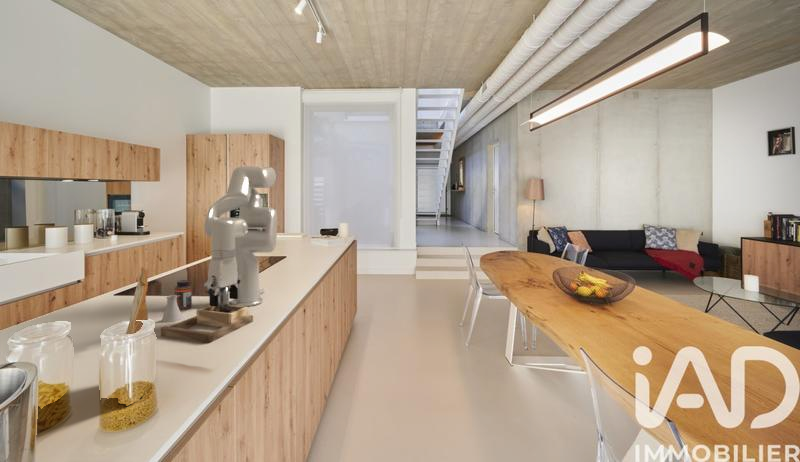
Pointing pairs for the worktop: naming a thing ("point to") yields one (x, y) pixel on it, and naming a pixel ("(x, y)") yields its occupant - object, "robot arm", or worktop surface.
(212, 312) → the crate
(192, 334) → the bay
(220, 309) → the handle peg
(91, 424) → the worktop surface
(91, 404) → the worktop surface
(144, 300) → the pancake mix bag
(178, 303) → the supplement bottle
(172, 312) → the flask
